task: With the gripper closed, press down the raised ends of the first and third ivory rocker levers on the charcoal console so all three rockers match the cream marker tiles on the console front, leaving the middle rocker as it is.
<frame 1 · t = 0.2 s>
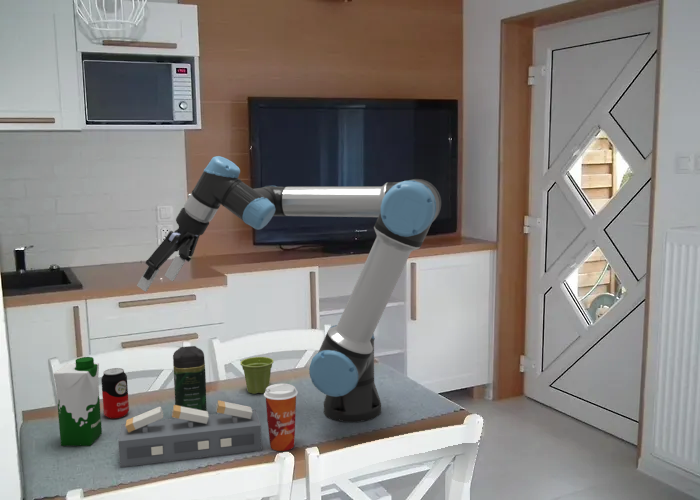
hand: (155, 283, 174), 35 cm above the table, tool tilted 35°, fingers open, 13 cm apart
milk carton: (81, 440, 166), on the table
rocker a: (234, 409, 161), point 8 cm above the table, hinge at -18.0°
beverage can: (116, 415, 181), on the table
rocker c: (144, 419, 156), point 8 cm above the table, hinge at 18.0°
paper cup: (282, 446, 161), on the table
console: (191, 449, 160), on the table
coffee jar: (191, 419, 178), on the table
plant pot: (258, 391, 198), on the table
rocker b: (190, 414, 158), point 8 cm above the table, hinge at -18.0°
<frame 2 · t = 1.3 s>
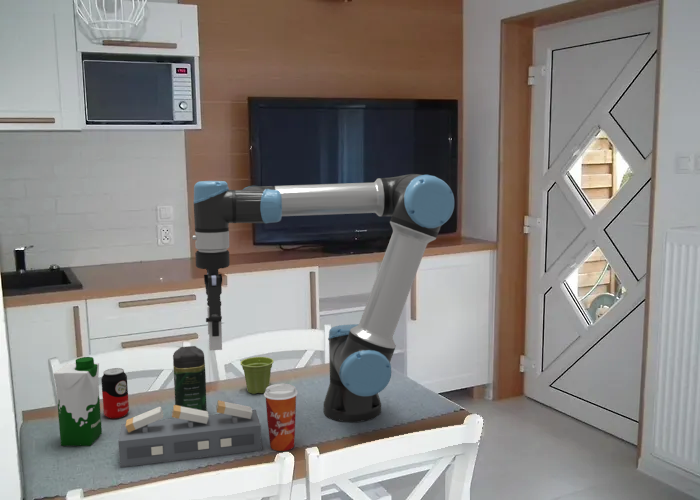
hand: (214, 341, 158), 25 cm above the table, tool pointing down, fingers open, 13 cm apart
nothing on the table moved.
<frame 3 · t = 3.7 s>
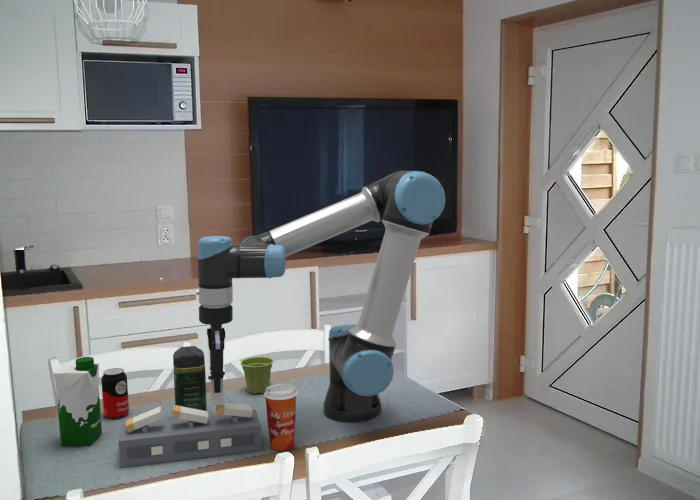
hand: (217, 404, 160), 10 cm above the table, tool pointing down, fingers closed
rocker a: (234, 409, 161), point 8 cm above the table, hinge at -12.0°, touching gripper
everything else where it was.
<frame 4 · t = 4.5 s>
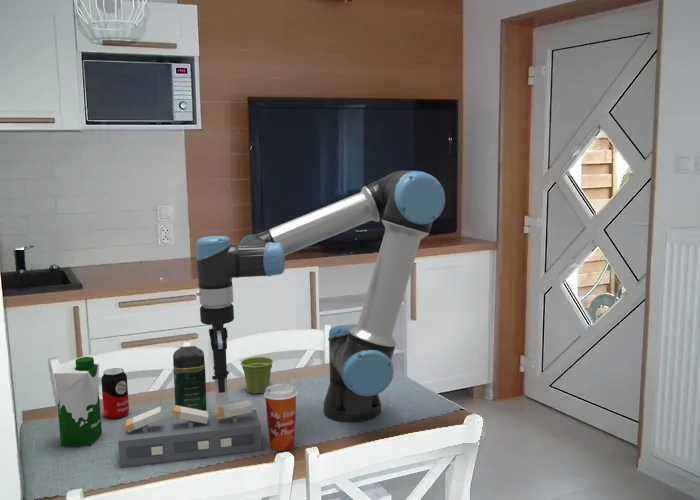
hand: (222, 404, 160), 10 cm above the table, tool pointing down, fingers closed
rocker a: (234, 409, 161), point 8 cm above the table, hinge at 5.6°
everything else where it was.
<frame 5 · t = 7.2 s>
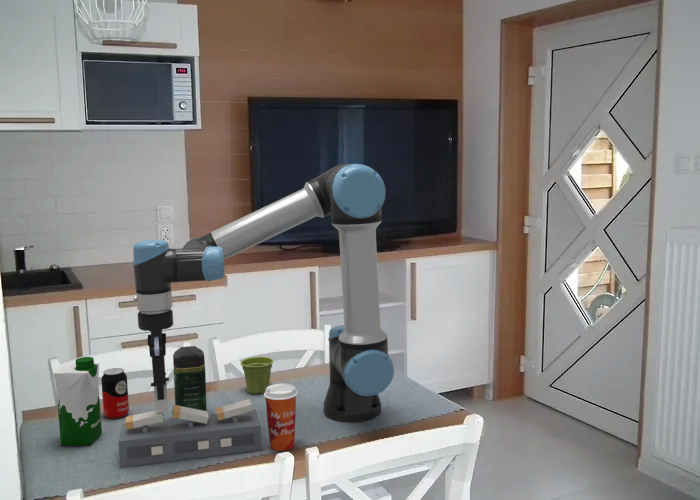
hand: (162, 411, 157), 10 cm above the table, tool pointing down, fingers closed
rocker a: (234, 409, 161), point 8 cm above the table, hinge at 10.5°
rocker c: (144, 419, 156), point 8 cm above the table, hinge at 7.4°, touching gripper
everything else where it was.
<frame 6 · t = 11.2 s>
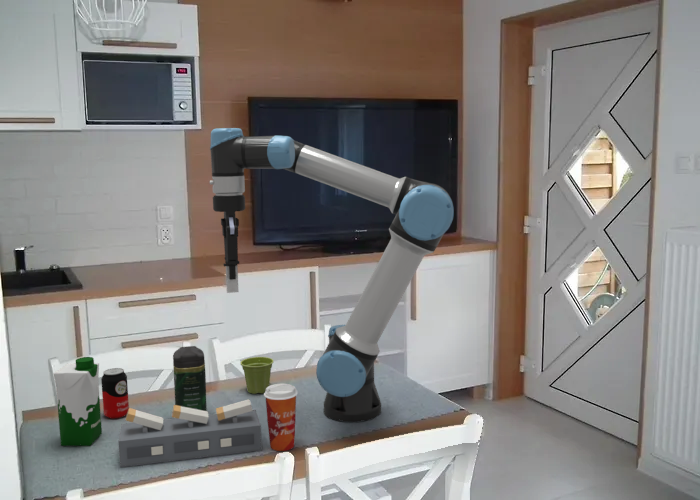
hand: (232, 291, 167), 34 cm above the table, tool pointing down, fingers closed
rocker c: (144, 419, 156), point 8 cm above the table, hinge at -23.7°
everything else where it was.
at the end: rocker a at +11° (first picture: -18°); rocker c at -24° (first picture: +18°); rocker b at -18° (first picture: -18°) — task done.
